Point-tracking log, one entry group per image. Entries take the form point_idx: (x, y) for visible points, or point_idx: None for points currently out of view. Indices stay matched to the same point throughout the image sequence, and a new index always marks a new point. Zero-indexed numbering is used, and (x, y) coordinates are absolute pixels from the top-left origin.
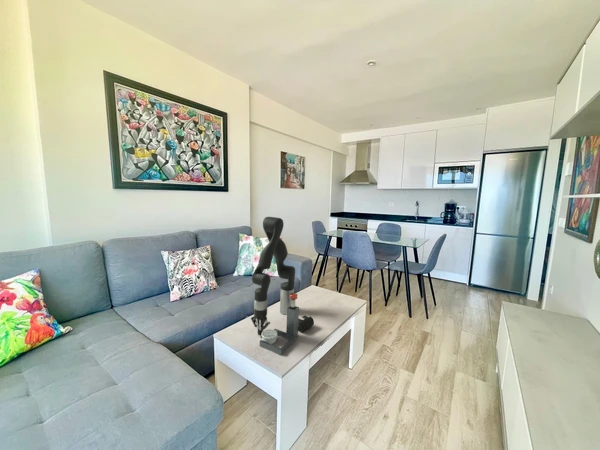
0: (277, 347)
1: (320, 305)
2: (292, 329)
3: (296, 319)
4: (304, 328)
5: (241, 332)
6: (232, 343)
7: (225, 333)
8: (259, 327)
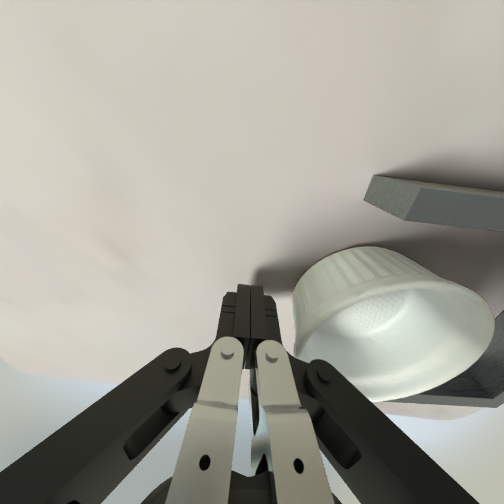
0: (467, 401)
1: None
2: None
3: None
4: None
5: (73, 302)
6: None
7: (5, 348)
8: (251, 411)
